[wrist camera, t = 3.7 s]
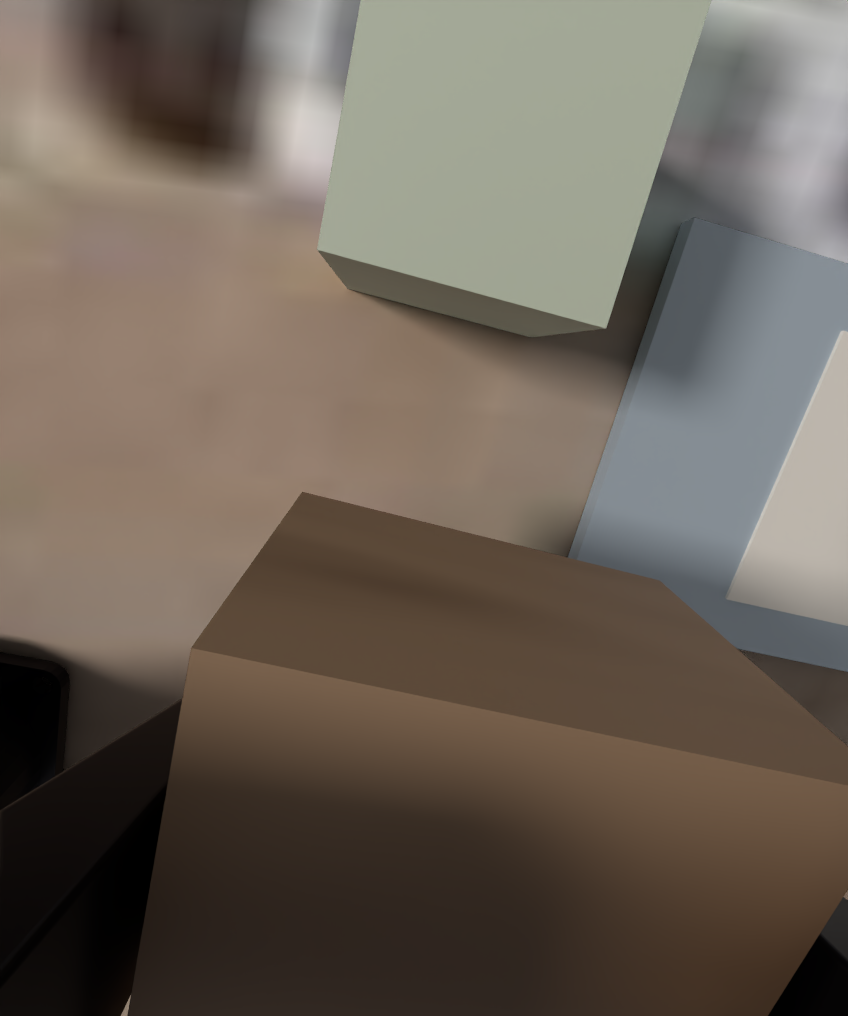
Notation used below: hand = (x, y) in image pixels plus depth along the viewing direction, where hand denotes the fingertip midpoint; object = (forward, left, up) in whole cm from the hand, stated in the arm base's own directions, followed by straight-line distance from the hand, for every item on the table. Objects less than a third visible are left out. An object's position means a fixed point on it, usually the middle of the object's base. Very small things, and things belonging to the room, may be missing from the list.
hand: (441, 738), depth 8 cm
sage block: (+9, +1, -7) cm, 11 cm away
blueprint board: (+5, -10, -7) cm, 13 cm away
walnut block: (0, 0, -1) cm, 1 cm away
